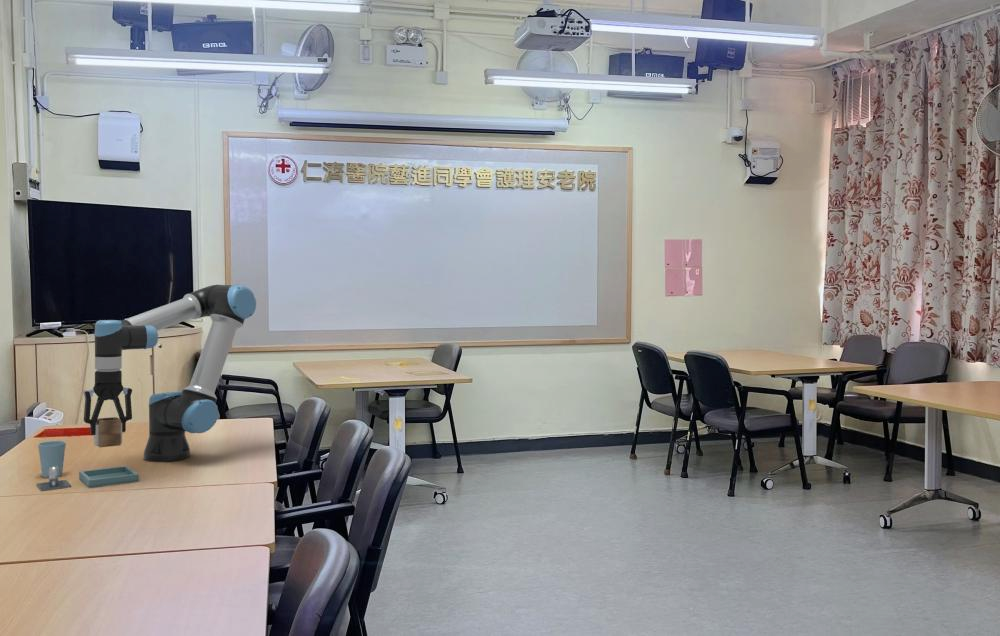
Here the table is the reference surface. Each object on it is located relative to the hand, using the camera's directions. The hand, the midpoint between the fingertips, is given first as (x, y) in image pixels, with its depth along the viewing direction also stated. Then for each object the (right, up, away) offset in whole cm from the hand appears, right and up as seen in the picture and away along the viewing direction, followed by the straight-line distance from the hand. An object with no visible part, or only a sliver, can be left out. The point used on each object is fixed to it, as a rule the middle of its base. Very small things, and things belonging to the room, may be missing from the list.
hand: (108, 443), depth 250 cm
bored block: (0, 0, 0) cm, 0 cm away
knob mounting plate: (-12, -11, -8) cm, 19 cm away
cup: (-20, -11, +5) cm, 24 cm away
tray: (0, -11, +1) cm, 11 cm away
